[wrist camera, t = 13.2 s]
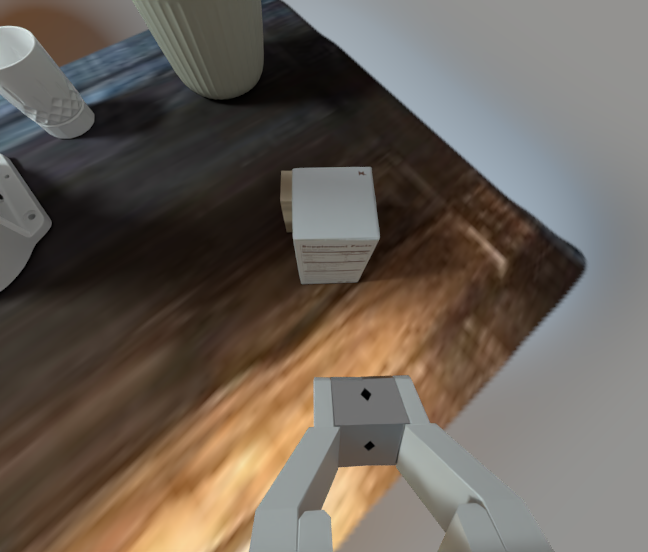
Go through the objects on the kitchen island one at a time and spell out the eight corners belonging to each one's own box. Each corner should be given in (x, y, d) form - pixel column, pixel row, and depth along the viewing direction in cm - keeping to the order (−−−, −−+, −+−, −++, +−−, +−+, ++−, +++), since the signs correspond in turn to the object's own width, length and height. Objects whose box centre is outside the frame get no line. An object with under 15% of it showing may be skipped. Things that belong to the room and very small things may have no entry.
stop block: (361, 232, 36) (372, 201, 29) (286, 232, 35) (280, 201, 29) (359, 206, 37) (369, 171, 30) (287, 206, 37) (281, 170, 30)
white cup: (110, 113, 41) (49, 37, 32) (75, 149, 39) (-3, 79, 29) (69, 97, 42) (-3, 18, 33) (31, 131, 40) (-57, 57, 30)
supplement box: (299, 232, 36) (291, 164, 24) (354, 232, 36) (374, 164, 24) (299, 286, 33) (290, 239, 21) (358, 284, 33) (383, 238, 21)
